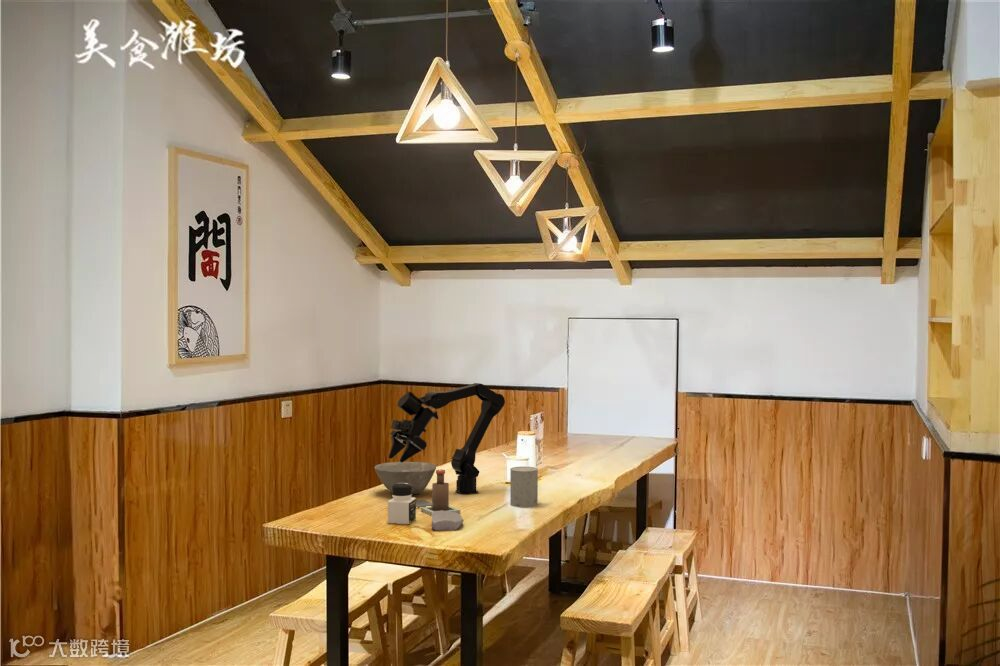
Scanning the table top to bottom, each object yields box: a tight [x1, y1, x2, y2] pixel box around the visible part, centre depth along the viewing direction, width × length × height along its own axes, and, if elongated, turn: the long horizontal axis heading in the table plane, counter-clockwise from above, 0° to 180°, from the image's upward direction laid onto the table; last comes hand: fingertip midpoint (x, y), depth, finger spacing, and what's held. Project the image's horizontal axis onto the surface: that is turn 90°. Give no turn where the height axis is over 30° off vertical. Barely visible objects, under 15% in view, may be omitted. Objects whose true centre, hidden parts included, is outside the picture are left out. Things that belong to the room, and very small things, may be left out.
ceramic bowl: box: [374, 461, 437, 495], centre depth 328 cm, size 22×23×10 cm
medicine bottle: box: [387, 483, 417, 525], centre depth 284 cm, size 7×7×12 cm
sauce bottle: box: [431, 469, 450, 511], centre depth 297 cm, size 5×5×14 cm
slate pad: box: [416, 499, 432, 507], centre depth 309 cm, size 10×10×1 cm
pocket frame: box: [420, 505, 461, 516], centre depth 297 cm, size 10×10×1 cm
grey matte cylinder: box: [509, 466, 539, 508], centre depth 310 cm, size 10×10×12 cm
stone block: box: [431, 510, 464, 532], centre depth 278 cm, size 12×5×10 cm
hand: (395, 459), depth 315 cm, fingers open, 9 cm apart
